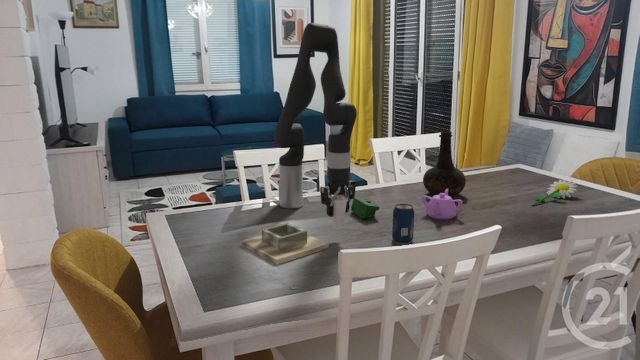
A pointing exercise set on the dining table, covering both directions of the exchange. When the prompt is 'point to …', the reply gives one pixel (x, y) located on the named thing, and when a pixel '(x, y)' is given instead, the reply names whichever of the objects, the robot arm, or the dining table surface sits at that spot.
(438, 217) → the teapot
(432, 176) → the glass bottle
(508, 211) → the dining table surface
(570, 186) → the decorative flower
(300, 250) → the collar stand
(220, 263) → the dining table surface
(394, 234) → the soda can
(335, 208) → the smoothie
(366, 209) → the toy dumpster
